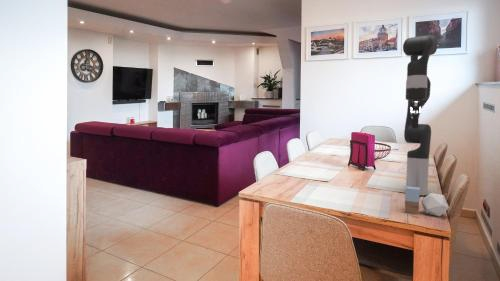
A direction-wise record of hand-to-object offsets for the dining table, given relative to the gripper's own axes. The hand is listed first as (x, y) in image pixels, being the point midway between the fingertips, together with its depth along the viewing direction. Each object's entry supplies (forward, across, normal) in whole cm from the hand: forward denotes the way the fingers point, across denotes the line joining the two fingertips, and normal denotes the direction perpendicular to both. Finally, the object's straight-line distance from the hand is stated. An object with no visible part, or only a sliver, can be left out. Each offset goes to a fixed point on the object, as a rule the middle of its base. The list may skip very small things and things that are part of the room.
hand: (414, 128), depth 128 cm
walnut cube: (+34, 0, 0) cm, 34 cm away
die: (+29, -1, +3) cm, 29 cm away
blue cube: (+29, 0, 0) cm, 29 cm away
